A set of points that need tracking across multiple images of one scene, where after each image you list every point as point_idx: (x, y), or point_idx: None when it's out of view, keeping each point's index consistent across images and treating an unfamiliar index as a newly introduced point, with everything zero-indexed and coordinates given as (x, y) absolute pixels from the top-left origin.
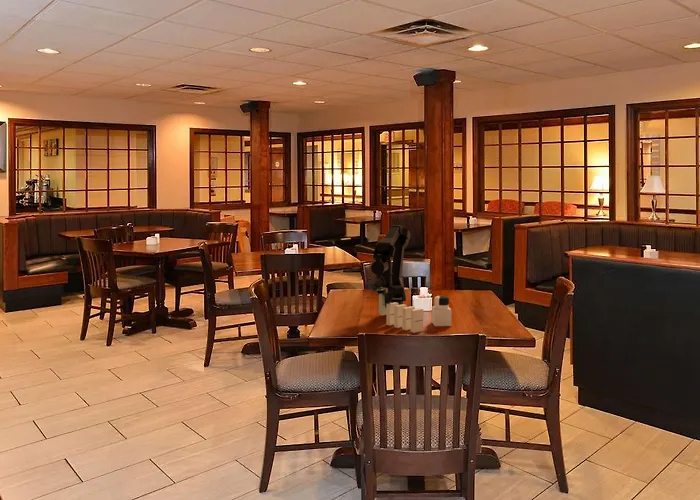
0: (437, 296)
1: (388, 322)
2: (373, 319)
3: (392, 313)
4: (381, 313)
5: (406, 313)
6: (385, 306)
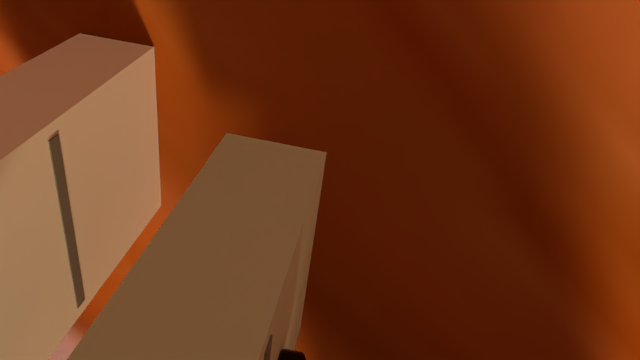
0: None
1: (78, 51)
2: (554, 182)
3: None
4: (226, 151)
5: None
6: None
